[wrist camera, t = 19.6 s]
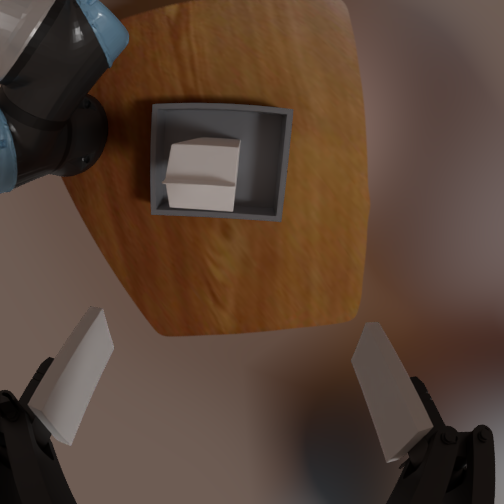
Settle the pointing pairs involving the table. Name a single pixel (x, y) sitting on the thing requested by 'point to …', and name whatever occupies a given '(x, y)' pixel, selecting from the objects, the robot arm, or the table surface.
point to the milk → (203, 174)
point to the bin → (250, 157)
